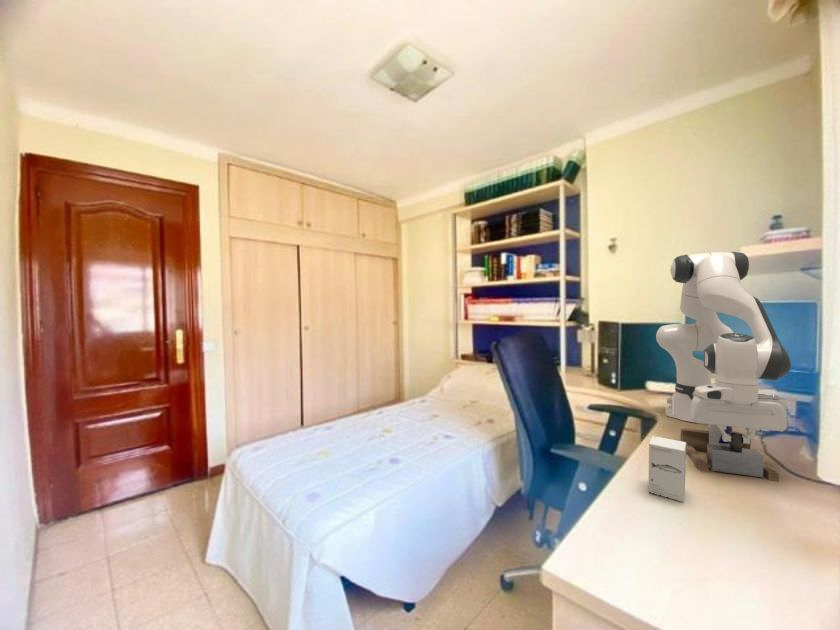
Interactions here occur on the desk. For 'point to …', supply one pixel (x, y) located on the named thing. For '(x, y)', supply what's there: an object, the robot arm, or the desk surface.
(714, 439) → the energy drink
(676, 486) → the supplement box
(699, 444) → the vise frame
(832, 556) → the desk surface
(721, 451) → the sliding jaw
